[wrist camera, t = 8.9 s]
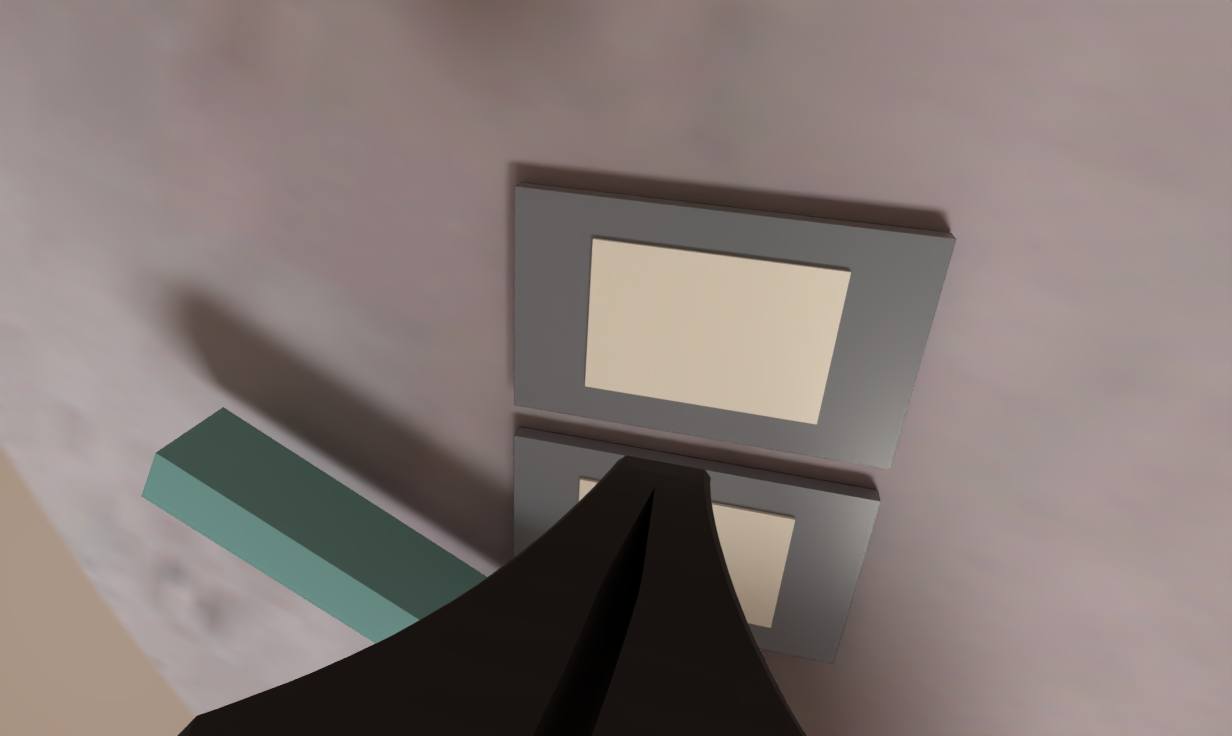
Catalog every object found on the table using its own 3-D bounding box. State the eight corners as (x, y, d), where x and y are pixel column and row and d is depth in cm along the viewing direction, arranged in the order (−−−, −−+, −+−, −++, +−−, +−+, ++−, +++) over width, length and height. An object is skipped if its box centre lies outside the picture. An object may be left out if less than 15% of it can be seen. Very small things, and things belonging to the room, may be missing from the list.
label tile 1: (887, 458, 18) (889, 472, 18) (520, 396, 20) (513, 406, 20) (951, 233, 16) (957, 239, 15) (521, 182, 17) (513, 187, 17)
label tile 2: (832, 651, 22) (833, 667, 21) (518, 583, 23) (512, 596, 23) (878, 490, 19) (880, 503, 18) (520, 426, 20) (512, 437, 20)
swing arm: (766, 731, 22) (762, 878, 18) (698, 783, 23) (681, 927, 20) (231, 385, 20) (106, 466, 17) (200, 467, 22) (81, 556, 18)
